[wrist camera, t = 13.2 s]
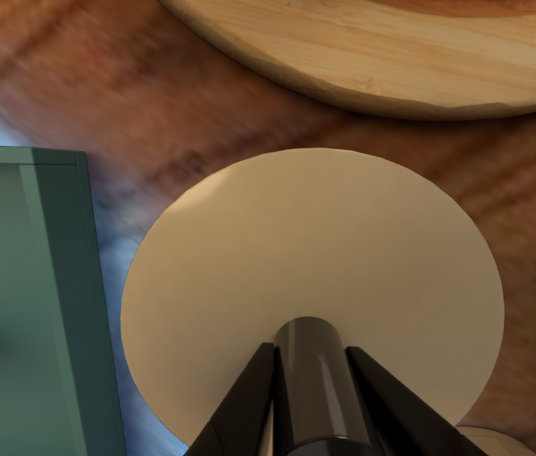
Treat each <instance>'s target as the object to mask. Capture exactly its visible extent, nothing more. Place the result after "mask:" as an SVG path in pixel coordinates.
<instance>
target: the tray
mask: <svg viewBox="0 0 536 456" xmlns="http://www.w3.org/2000/svg"><path fill="white" fill-rule="evenodd" d="M0 456H126V450H125V443H124V435H123V428H122V421H121V413H120V406H119V399H118V391H117V384H116V376H115V369H114V362H113V354H112V347H111V340H110V332H109V325H108V318H107V310H106V303H105V296H104V288H103V281H102V274H101V266H100V259H99V251H98V244H97V237H96V229H95V222H94V215H93V207H92V200H91V193H90V185H89V178H88V171H87V163H86V156H85V152H83V151H72V150H60V149H49V148H37V147H15V146H0Z"/></svg>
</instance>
